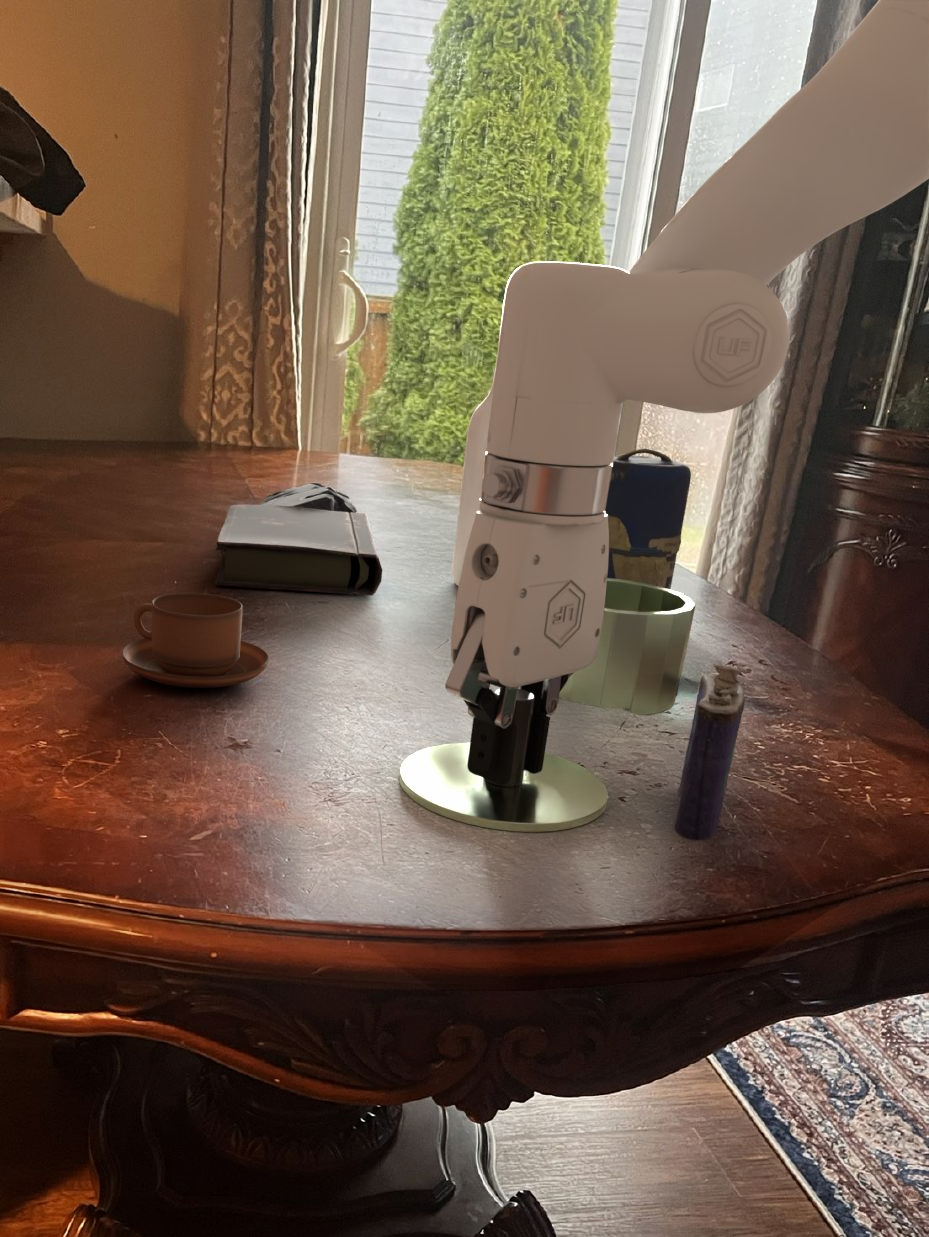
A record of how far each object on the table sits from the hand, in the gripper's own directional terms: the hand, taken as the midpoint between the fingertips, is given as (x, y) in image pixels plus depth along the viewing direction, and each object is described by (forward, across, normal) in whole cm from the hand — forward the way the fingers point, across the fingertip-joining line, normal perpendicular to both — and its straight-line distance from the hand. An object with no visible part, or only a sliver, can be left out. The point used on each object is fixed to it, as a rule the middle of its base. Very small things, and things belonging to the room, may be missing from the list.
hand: (504, 770), depth 78 cm
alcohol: (+2, +48, +41) cm, 63 cm away
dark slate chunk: (+2, +56, +81) cm, 98 cm away
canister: (+2, +46, +22) cm, 51 cm away
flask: (+2, +8, -10) cm, 13 cm away
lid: (+1, 0, 0) cm, 1 cm away
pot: (+2, +26, +10) cm, 28 cm away
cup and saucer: (+2, -2, +31) cm, 31 cm away
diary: (+2, +33, +58) cm, 67 cm away
